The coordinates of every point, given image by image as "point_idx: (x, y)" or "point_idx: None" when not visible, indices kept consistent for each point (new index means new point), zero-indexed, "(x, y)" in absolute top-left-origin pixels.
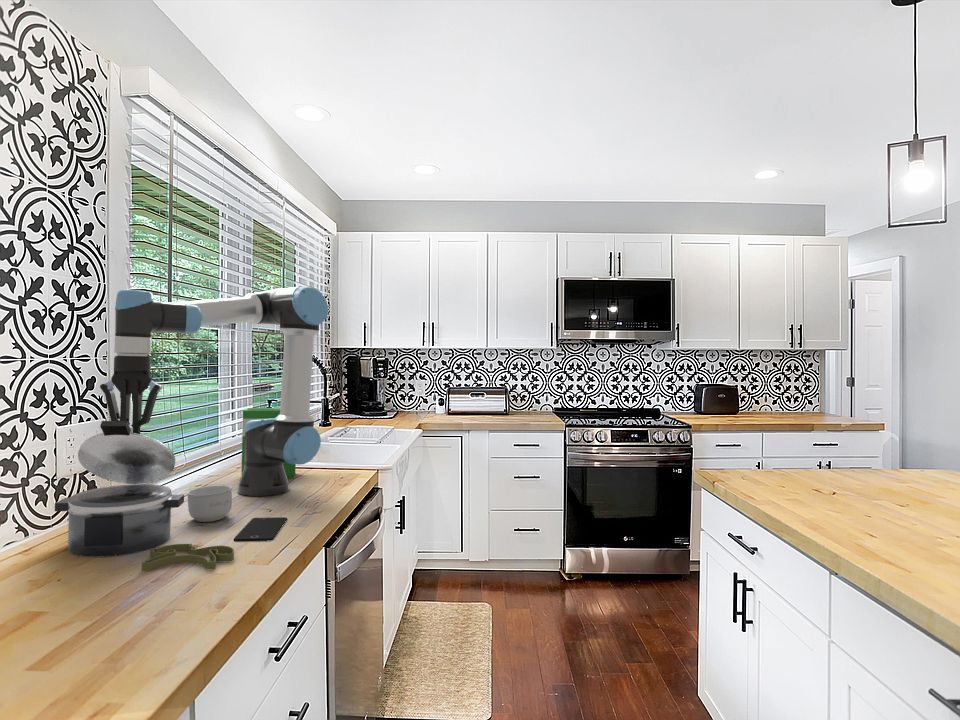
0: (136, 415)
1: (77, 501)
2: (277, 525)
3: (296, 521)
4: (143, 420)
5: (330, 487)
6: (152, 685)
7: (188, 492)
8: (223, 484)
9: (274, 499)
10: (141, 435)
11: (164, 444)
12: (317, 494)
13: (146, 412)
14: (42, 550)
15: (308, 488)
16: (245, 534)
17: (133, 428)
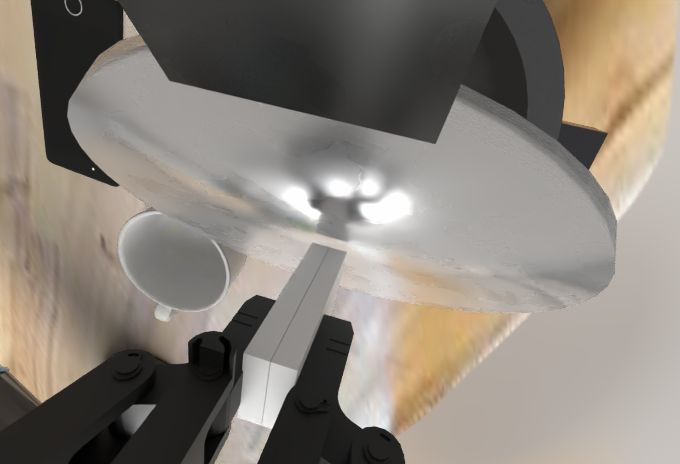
0: (142, 448)
1: (532, 37)
2: (47, 94)
3: (26, 132)
4: (116, 377)
5: (34, 360)
6: None
7: (226, 273)
8: (155, 313)
9: (115, 322)
10: (114, 61)
11: (72, 131)
12: (43, 323)
13: (14, 449)
14: (581, 98)
15: (72, 370)
16: (99, 36)
17: (243, 360)
